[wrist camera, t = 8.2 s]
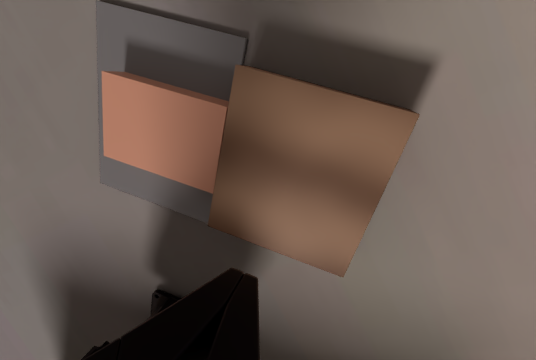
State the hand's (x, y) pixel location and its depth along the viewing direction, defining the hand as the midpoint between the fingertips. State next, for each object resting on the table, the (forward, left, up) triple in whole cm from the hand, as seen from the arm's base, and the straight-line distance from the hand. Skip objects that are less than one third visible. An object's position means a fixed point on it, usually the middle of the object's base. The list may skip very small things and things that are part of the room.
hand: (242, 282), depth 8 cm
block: (0, +10, -11) cm, 15 cm away
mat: (0, +11, -12) cm, 16 cm away
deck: (0, 0, -12) cm, 12 cm away
